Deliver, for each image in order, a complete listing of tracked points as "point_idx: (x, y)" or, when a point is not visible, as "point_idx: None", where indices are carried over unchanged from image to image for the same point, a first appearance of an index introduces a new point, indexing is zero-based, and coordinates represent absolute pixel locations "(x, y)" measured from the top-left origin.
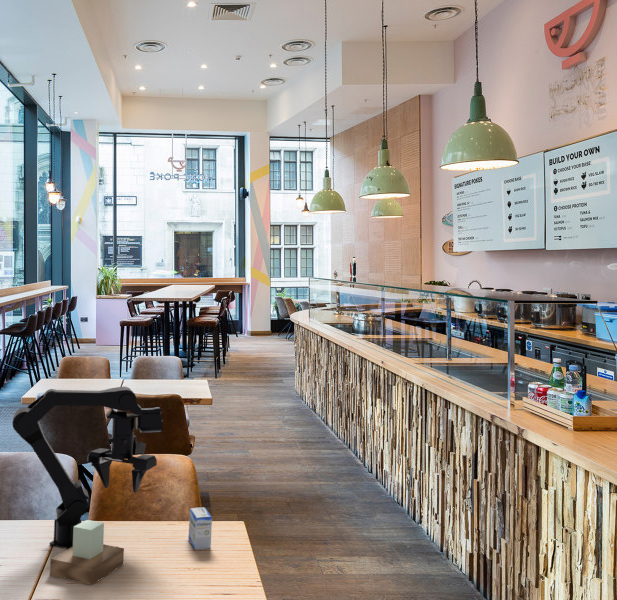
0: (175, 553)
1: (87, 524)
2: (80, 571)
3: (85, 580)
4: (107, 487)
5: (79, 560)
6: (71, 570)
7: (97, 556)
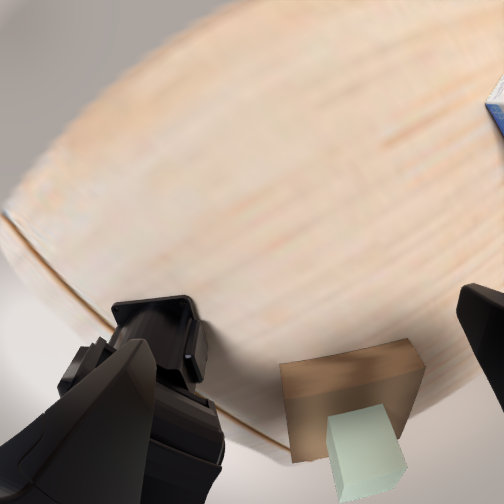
0: (493, 215)
1: (366, 489)
2: None
3: None
4: (150, 351)
5: None
6: None
7: None
